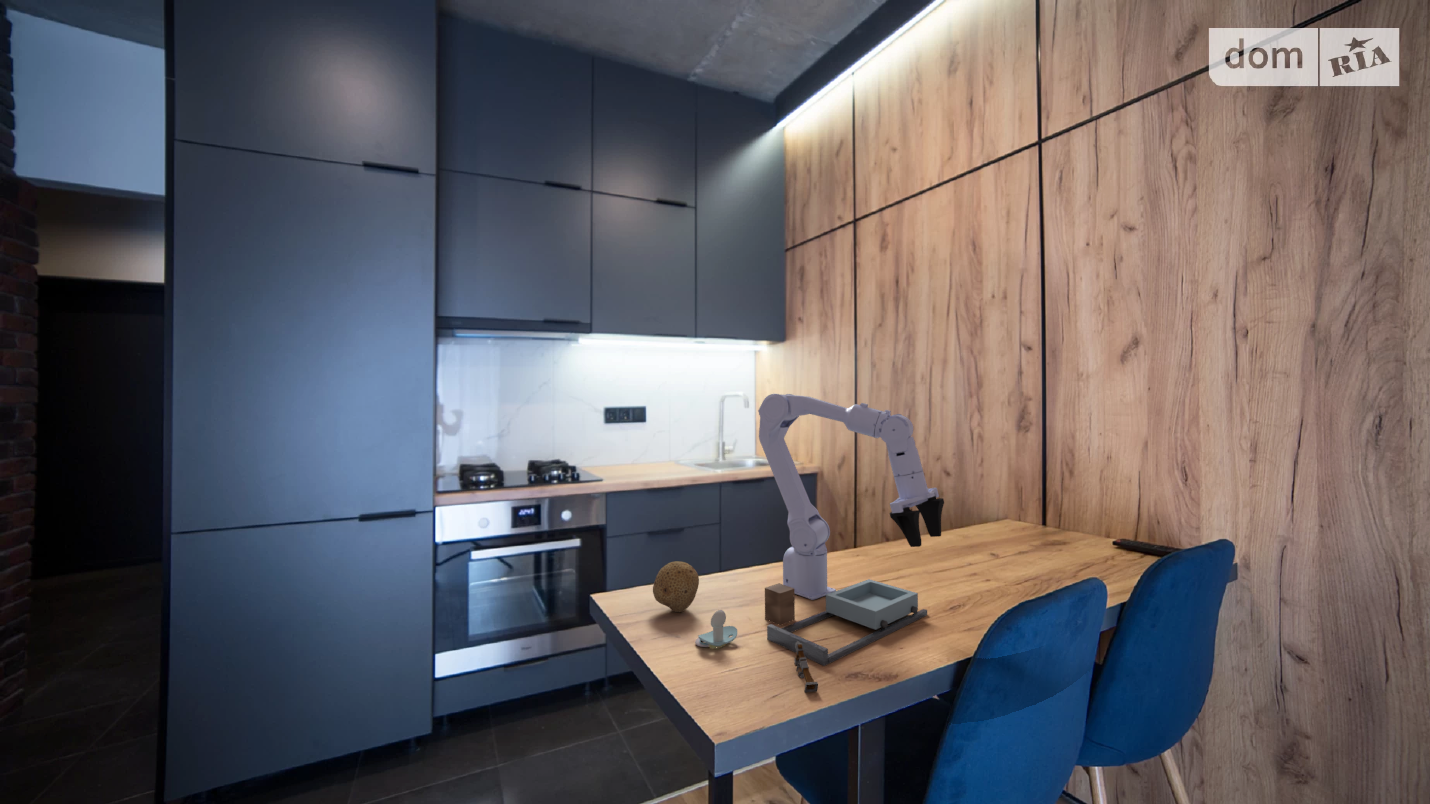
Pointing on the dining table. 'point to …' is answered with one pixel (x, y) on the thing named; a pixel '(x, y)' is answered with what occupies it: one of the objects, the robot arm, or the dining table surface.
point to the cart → (872, 603)
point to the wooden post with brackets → (804, 669)
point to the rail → (821, 653)
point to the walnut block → (779, 604)
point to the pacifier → (717, 632)
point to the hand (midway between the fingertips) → (926, 541)
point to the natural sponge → (676, 585)
